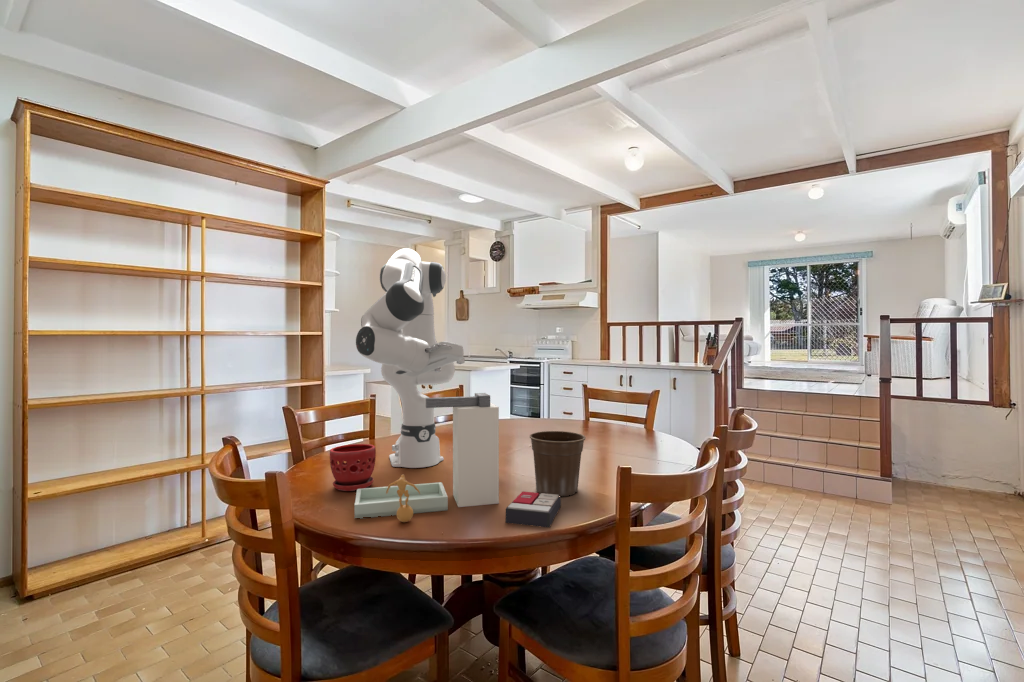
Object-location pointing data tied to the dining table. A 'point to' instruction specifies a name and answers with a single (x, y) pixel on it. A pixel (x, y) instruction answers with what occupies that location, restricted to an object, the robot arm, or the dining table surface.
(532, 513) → the dark grey box
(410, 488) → the tray
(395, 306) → the robot arm
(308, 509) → the dining table surface
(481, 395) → the stop bar
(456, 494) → the post
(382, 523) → the dining table surface
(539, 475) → the plant pot
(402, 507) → the figurine
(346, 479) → the plant pot
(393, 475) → the dining table surface
